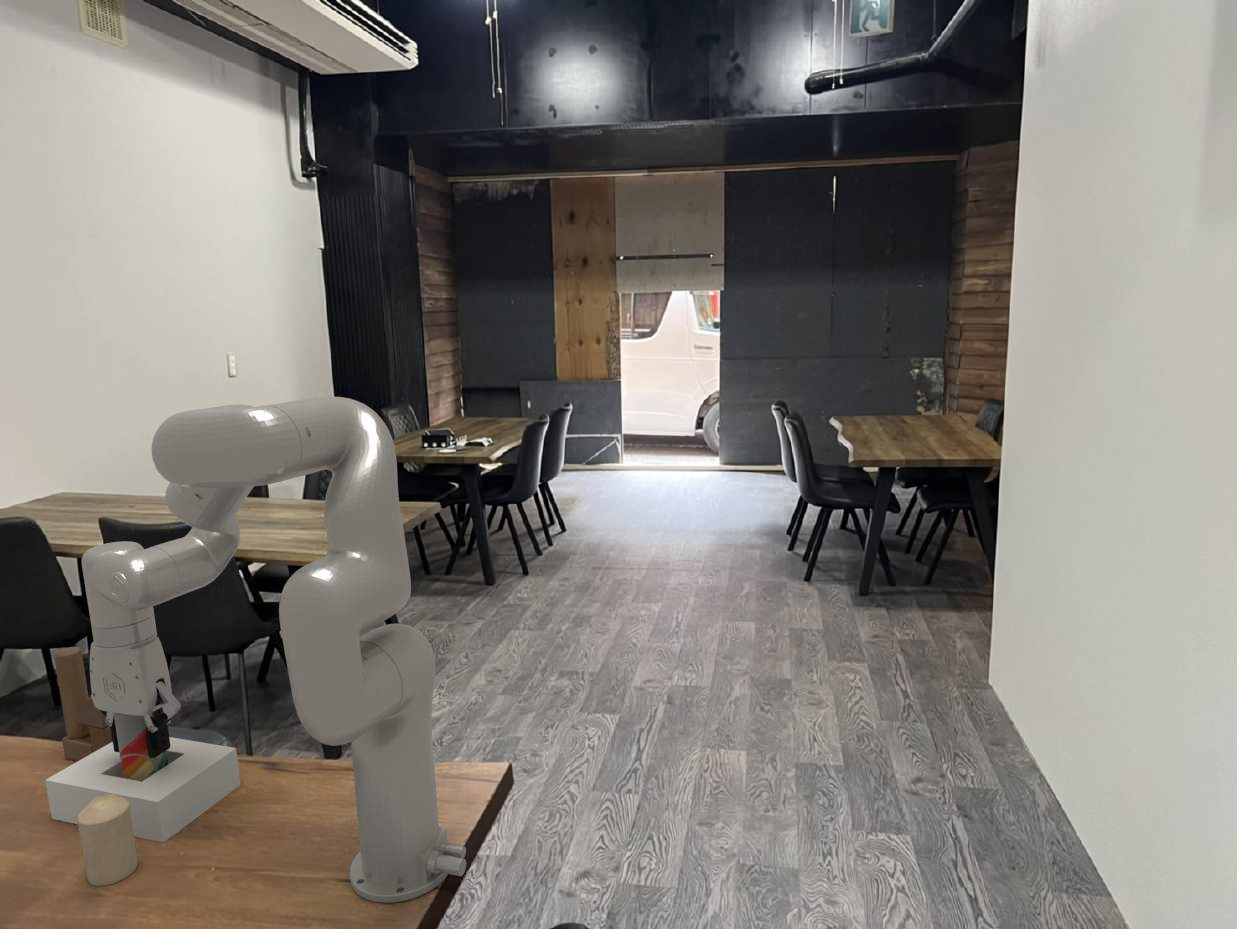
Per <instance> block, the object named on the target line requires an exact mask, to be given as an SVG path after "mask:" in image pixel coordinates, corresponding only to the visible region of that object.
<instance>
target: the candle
mask: <svg viewBox="0 0 1237 929" xmlns="http://www.w3.org/2000/svg"><path fill="white" fill-rule="evenodd" d="M77 820H78V824H77V826H78V832H79V836H80V842H81V850H82V855H83V856H82V857H83V861H84V868H85V869H84V870H85V875H86V879H87V882H88V883H89V884H90V885H91V886H94V887H103V886H104V887H105V886H109V885H113V884H115V883H118V882H121V881H122V880H124V879H126V878H127V877H129V876H130V875H131V874H133V873H134V872H135V871H136V869H137V867H138V861H139V860H138V853H137V846H136V845H137V844H136V840H135V837H134V832H133V825H132V819H131V812H130V805H129V802H128V801H127V800H126V799H123V798H121V797H119V796H116V795H114V794H108V795H106V796H104V797H100V796H98V797H95V798H93V800H92V801H91V802H90V803H89V804H88V805H87V806H86V807H85V808H84V809H83V810H82V812H81V813H80V814H79V816H78V818H77Z"/></svg>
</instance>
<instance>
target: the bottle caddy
mask: <svg viewBox="0 0 1237 929" xmlns="http://www.w3.org/2000/svg"><path fill="white" fill-rule="evenodd" d="M169 739H170V748H169V749H168V750H166V751H167V758H168V765H167V766H165V767H164V768H162V769H161V770H159V771H158V772H156V773H154V774H153V775H151V776H150V777H148V778H147V779H145V780H144V781H142V782H141V781H136V780H130V779H125V778H123V774H122V767H121V760H120V753H119V752H114V748H113V742H111V743H109V744H108V745H106V746H104V747H102V748H101V749H99V750H97V751H95V752H94V753H92V754H90V755H88V756H87V757H85V758H83V759H81V760H80V761H76V762H74V763H72V764H70V765H69V766H68V767H66V768H63V769H62V770H61V771H58V772H57V773H55V774H53V775H52V776H49V777H48V778H46V779H45V787H46V792H47V798H48V804H49V810H50V817H51V819H52V820H55V821H59V820H60V822H65V823H68V824H69V823H70V824H73V823H74V825H78V820H77V818H78V816H79V814H80V813H81V812H82V810H83V809H84V808H85V807H86V806H87V805H88V804H89V803H90V802H91V801H92V800H93V798H95V797H98V796H100V797H104V796H106V795H108V794H114V795H116V796H119V797H121V798H123V799H126V800H127V801H128V802H129V805H130V812H131V819H132V825H133V832H134V838H140V839H144V840H148V841H153V842H159V843H163V844H164V843H166V841H168V840H169V839H171V838H173V837H174V836H175V835H176V834H178V833H179V832H180V831H182V830H183V829H184V828H185V827H186V826H188V825H190V824H191V823H192V822H193V821H195V820H196V819H197V818H198V817H200V816H201V815H202V814H204V813H205V812H207V811H208V810H209V809H211V808H212V807H213V806H215V805H216V804H217V803H218V802H220V801H221V800H223V799H224V798H225V797H226V796H228V795H229V794H230V793H232V792H233V791H235V790H236V789H237V788H239V787H240V786H241V777H240V770H239V761H238V754H237V747H232V746H225V745H221V744H213V743H206V742H201V741H194V740H190V739H183V738H177V737H171V736H169Z"/></svg>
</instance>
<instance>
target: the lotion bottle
mask: <svg viewBox="0 0 1237 929" xmlns="http://www.w3.org/2000/svg"><path fill="white" fill-rule="evenodd" d="M155 705H157V701H156V703H155ZM152 714H153V717H154V719H156V718H157V717H158V712H157V710H156V711H154V712H152ZM114 719H115V726H116V733H117V739H118V746H119V753H120V760H121V767H122V774H123V778H125V779H130V780H136V781H141V782H142V781H144V780H145V779H147V778H148V777H150V776H151V775H153V774H154V773H156V772H158V771H159V770H161V769H162V768H164V767H165V766H167V765H168V758H167V751H165V752H163V753H162V754H160V755H158V756H157V757H155V758H150V757H149V755H148V748H147V741H146V732H147V731H149V729H148V727H147V725H146V722H145V720H144V718H143V716H133V715H127V714H122V713H114Z"/></svg>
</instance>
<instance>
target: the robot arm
mask: <svg viewBox="0 0 1237 929" xmlns="http://www.w3.org/2000/svg"><path fill="white" fill-rule="evenodd" d="M151 456H152V461H153V464H154V467H155V469H156V471H157V472H158V473H159V475H161V477H162V478H163V479H164V480H166V481H168V482H169V484H168V486H167V487H166V490H165V503H166V505H167V507H168V509H169V511H170V512H171V514H173V516H175V517H176V519H177V520H179V521H181V522H182V523H184V524H185V525H187V526H189V527H191V529H190V531H189V532H188V533H187V534H186V535H185V536H183V537H181V538H176V539H173V540H169V541H166V542H163V543H160V544H156V545H154V546H153V545H152V546H150V547H148V548H145V549H144V546H142V545H141V544H140V543H138V542H134V541H128V540H127V541H126V540H125V541H124V540H122V541H114V542H108V543H103V544H98V545H96V546H92V547H90V548H89V549H87V550H86V551H85V552H84V553H83V554H82V557H81V568H82V574H83V580H84V587H85V594H86V599H87V600H86V601H87V606H88V612H89V618H90V619H89V620H90V624H91V632H92V639H93V641H92V642H91V644H90V649H89V677H90V678H89V679H90V691H91V694H92V696H91V695H90V696H91V699H92V700H93V703H94V706H95V707H96V708H97V709H99V710H100V711H101V712H102V713H103V714H104V715H105V717H106V723H107V725H109V726H111V725H112V726H111V727H110V728H111V735H112V741H113V748H114V752H119V746H118V739H117V733H116V726H115V719H114V713H122V714H127V715H133V716H143V718H144V720H145V722H146V725H147V727H148V729H149V731H147V732H146V741H147V748H148V755H149V757H150V758H155V757H157V756H158V755H160V754H162V753H163V752H165V751H166V750H168V749H169V748H170V739H169V737H170V734H169V725H168V724H170V723H171V720H172V718H174V716H175V715H176V713H178V712H179V710H181V708H182V705H181V703H180V701H179V700H178V699H177V697H175V695H174V694H173V693H172V683H171V677H170V671H169V668H168V663H167V659H166V655H165V653H164V652H165V651H164V648H163V644H162V642H161V640H160V638H159V636H158V633H157V626H156V619H155V612H154V610H155V609H154V607H155V606H157V605H160V604H163V603H165V602H168V601H170V600H173V599H174V598H178V597H180V596H183V595H185V594H188V593H190V592H193V591H196V590H199V589H202V588H204V587H206V586H207V585H209V584H211V583H212V582H213V581H215V580H216V579H217V578H218V577H219V576H220V574H222V572H223V571H224V570H225V569H226V567H227V566H228V564H229V562H230V561H231V560H232V558H233V557H234V555H235V553H236V552H237V550H238V547H239V545H240V540H241V526H240V520H239V518H238V515H237V513H238V511H239V510H240V508H241V506H242V505H243V503H244V502H245V501H246V499H247V497H248V495H250V493H251V491H252V490H253V488H254V487H257V486H267V485H272V484H277V483H282V482H284V481H289V480H292V479H296V478H299V477H303V476H307V475H310V474H315V473H317V472H321V471H324V470H325V471H326V470H328V471H330V472H331V474H332V475H331V479H330V481H329V484H328V486H327V490H326V494H325V498H324V499H325V500H324V507H323V518H324V519H323V520H324V525H325V529H326V538H327V539H326V540H327V553H326V556H324V557H322V558H319V559H316V560H314V561H312V562H310V563H307V564H305V565H303V566H302V567H300V568H299V569H298V570H296V571H295V572H294V573H292V574H291V576H290V577H289V578H288V580H287V581H286V582H285V584H284V586H283V589H282V592H281V594H280V598H279V599H280V600H279V605H278V606H279V608H278V614H279V624H280V632H281V633H280V634H281V637H282V638H281V639H282V644H283V650H284V655H285V660H286V661H285V662H286V665H287V673H288V677H289V678H288V679H289V685H290V688H291V695H292V700H293V704H294V708H295V711H296V714H297V717H298V720H300V722H301V723H300V724H301V725H302V726H303V727H304V729H305V730H306V732H307V733H308V734H309V736H310V737H312V738H313V739H314V740H315V741H317V742H318V743H321V744H323V745H327V746H331V747H333V746H335V747H337V746H344V745H347V744H349V743H351V758H352V772H353V782H354V792H355V793H354V794H355V803H356V813H357V814H356V815H357V827H358V833H359V846H360V851H359V852H358V853H357V854H356V855H355V857H354V859H353V860H352V862H351V863H350V864H351V865H350V867H349V881H350V885H351V887H352V889H353V891H354V892H355V893H356V894H357V895H358V896H360V897H362V898H363V899H365V900H369V901H372V902H377V903H382V904H383V903H385V904H386V903H397V902H398V903H399V902H405V901H408V900H412V899H415V898H418V897H420V896H422V895H424V894H426V893H428V892H430V891H432V890H434V889H435V888H437V886H439V885H440V884H441V883H442V882H443V881H444V880H445V879H447V876H448V875H452V876H457V877H463V875H464V874H465V872H466V868H467V860H466V859H465V856H466V854H467V848H466V847H465V846H461V845H456V844H455V845H453V844H451V842H450V841H449V840H448V831H447V830H448V829H447V828H442V827H439V826H440V825H439V812H438V801H437V800H438V799H437V789H436V788H437V786H436V785H437V784H436V775H435V763H434V741H433V720H432V718H433V716H432V714H433V713H432V711H433V710H432V709H433V697H434V690H435V680H436V660H435V654H434V650H433V648H432V645H431V644H430V642H429V640H428V638H427V637H426V636H425V635H424V634H423V633H422V632H421V631H420V630H419V629H417V628H415V627H414V626H411V625H410V624H405V623H404V624H403V623H390V624H385V625H382V626H379V627H377V628H375V626H378V625H379V624H381V623H383V622H385V621H386V620H388V619H390V618H391V617H392V616H394V615H395V614H397V613H398V612H401V610H402V609H403V608H404V607H405V606H406V605H407V603H408V601H409V600H410V597H411V593H412V582H411V579H412V578H411V573H410V572H411V571H410V565H409V557H408V550H407V546H406V544H407V543H406V538H405V529H404V521H403V518H402V512H401V506H400V505H401V504H400V497H399V486H398V485H399V483H398V463H397V462H398V461H397V452H396V447H395V443H394V440H393V437H392V435H391V432H390V430H389V428H388V426H387V425H386V423H385V422H384V420H383V419H382V418H381V416H379V414H378V413H377V412H376V411H375V410H373V409H372V408H371V407H369V406H368V405H366V404H365V403H363V402H360V401H358V400H356V399H352V398H348V397H342V396H321V397H311V398H305V399H297V400H292V401H286V402H280V403H273V404H267V405H266V404H265V405H260V406H253V405H247V404H228V405H222V406H221V405H219V406H213V407H206V408H201V409H200V408H199V409H193V410H186V411H180V412H177V413H174V414H172V415H170V416H169V417H167V418H166V419H165V420H164V421H163V422H162V423H161V424H160V425H159V426H158V428H157V430H156V431H155V433H154V435H153V437H152V442H151ZM372 628H374V629H372ZM371 629H372V630H371ZM369 630H370V631H369ZM366 631H368V632H366ZM360 635H361V636H360ZM156 701H157V705H155V703H156ZM156 710H157V712H158V717H157V718H156V719H154V717H153V714H152V712H154V711H156Z"/></svg>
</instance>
